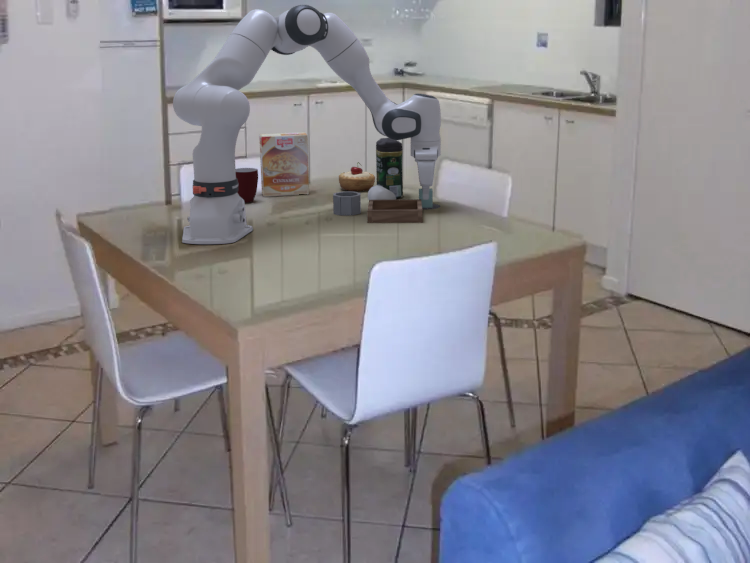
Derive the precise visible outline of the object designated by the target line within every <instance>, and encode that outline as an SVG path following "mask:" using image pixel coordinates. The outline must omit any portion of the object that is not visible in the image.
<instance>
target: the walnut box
mask: <svg viewBox="0 0 750 563" xmlns="http://www.w3.org/2000/svg"><path fill="white" fill-rule="evenodd" d="M366 213H367V215H366V218H367V222H366V223H367V224H375V223H376V224H388V223H389V224H393V223H399V224H405V223H407V224H411V223H412V224H413V223H418V224H419V223H423V210H422V202H421V199H419V198H418V199H415V198H414V199H411V198H410V199H396V200H368V204H367V210H366Z"/></svg>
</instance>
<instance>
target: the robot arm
mask: <svg viewBox="0 0 750 563" xmlns="http://www.w3.org/2000/svg"><path fill="white" fill-rule="evenodd" d="M308 47H311V48H313V49H314V50H316V51H317V52H318V54H320V55H321V57H322V58H323V60H324V61H325V62H326V64H327V65H328V67H329V68H330V69H331V70H332V71H333V72H334V73H335V74H336V75H337V76H338V78H340V80H343V81H344V82H345V83H346V84H348V85H349V86H350V87H352V89H353V90H355V91H356V93H357V95H358V96H359V97H360V98H361V99H362V101H363V103H364V104H365V105H366V107H367V108H368V109H369V111H370V115H371V117H372V122H373V126H374V128H375V130H376V131H377V132H378V133H379V134H381V135H382V136H384V137H385V138H390V139H392V140H397V141H402V140H405V139H410V156H411V157H412V158H413V159H414V162H416V165H417V172H418V180H419V186H420V187H421V189H422V190H423V199H424V200H428V199H429V189H431V188H430V187H432V186H433V184H434V178H435V176H434V175H435V170H436V169H435V168H436V162H437V160H438V158H439V157H441V152H442V151H441V148H442V147H441V141H442V140H441V133H440V130H441V129H440V128H441V126H442V119H441V118H442V113H441V103H440V101H439V99H438V98H436V97H435V96H434V95H430V94H426V93H414V94H413V95H412V96H411V97H409V98H407V99H406V100H404V101H403V102H400V103H395V102H394V101H392V100H390V99H389V98H388V96H386V94H385V92H384V91H383V90H382V89H381V87H380V85H379V84H378V83H377V81H376V80H375V79H374V76H373V75H372V73H371V69H370V57H369V55H368V54H367V51H366V49H365V48H364V45H363V44H362V43H361V41H360V40H359V38H358V36H356V34H355V33H354V32H353V30H351V28H350V27H349V26H348V25H347V24H346V23H345V21H344V20H342V18H340V17H339V16H338V15H337V14H335V13H334V12H324V13H322V12H320V11H319V10H318V9H316V8H315V7H313V6H311V5H309V4H298V5H295V6H293V7H291V8H290V9H288V10H285V11H283V12H282V13H280V14H278V15H277V16H275V15H272V14H271V13H269V12H268V11H266V10H264V9H260V8H259V9H258V8H255V9H251V10H250V11H248V13H246V14H245V15H244V16H243V18H241V19H240V21H239V22H238V24H236V25H235V27H234V28H233V30H232V32H230V34H229V36H228V37H227V39H226V40H225V42H224V44H223V45H222V47H221V48H220V49H219V52H218V53H217V54H216V56H215V57H214V59H212V61H211V62H210V63H209V64H208V65H207V66H206V67H204V68H203V70H202V71H201V72H200V73H198V75H197V76H196V77H194V78H193V79H192V80H191V81H190V82H189V83H187V84H185V85H183V86H182V87H180V88H179V89H178V90H177V91H176V92H175V94H174V96H173V100H172V107H173V111H174V113H175V115H176V116H177V117H178V118H179V119H180V120H182V121H183V122H185V123H187V124H190V125H192V126H197V127H201V133H200V138H199V141H198V144H197V145H196V146H194V148H193V150H192V165H193V178H194V179H193V180H192V195H193V197H191V199H190V200H189V203H190V205H189V206H190V207H189V208H190V209H189V216H187V222H189V225H186V226H184V227H183V232H182V239H181V240H182V241H181V242H182V243H183V244H192V245H221V244H222V245H223V244H225V245H226V244H231V243H235V242H238V241H239V240H241V239H242V238H244V237H245V236H246V235H248V234H249V233H252V232H253V230H254V227H253V225H249V224H247V213H246V203H245V202H244V200H243V199H242V198H241V197H240V196H239V194H238V193H237V192H238V179H237V178H236V170H235V169H236V145H237V140H238V136H239V133H240V131H241V128H242V127H243V126H244V124H245V123H246V122H247V120H248V119H249V116H250V113H251V106H250V101H249V99H248V97H247V95H246V94H244V93H243V92H242V91H240V90H241V89H242V88H244V87H246V86H248V85H249V84H250V83H251V82H252V81H253V79H254V78H255V76H256V75H257V73H258V72H259V70H260V69H261V66H262V65H263V63H264V61H265V60H266V58H267V57H268V55H269V53H270V52H271V51H273V52H274V53H277V54H278V55H282V56H289V55H293V54H295V53H297V52H300V51H303V50H304V49H306V48H308Z"/></svg>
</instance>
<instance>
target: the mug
mask: <svg viewBox="0 0 750 563" xmlns="http://www.w3.org/2000/svg"><path fill="white" fill-rule="evenodd" d="M235 170H236V178H237V179H238V192H237V193H238V194H239V196H240V197H241V198H242V199H243V200H244V202H245V204H249V203H252V202H254V200H255V198H256V195H257V191H258V184H259V183H258V182H259V171H258V170H259V169H258V168H255V167H240V168H239V167H238V168H235Z"/></svg>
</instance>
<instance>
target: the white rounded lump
mask: <svg viewBox="0 0 750 563" xmlns="http://www.w3.org/2000/svg"><path fill="white" fill-rule="evenodd" d="M367 200H368V201H369V200H397V198H396V196H395V194H394V193H393V192H391V191H389V190H387V189H386V188H384V187H382V186H379V185H377V184H376V185H373V187H372V188H370V190H368V191H367Z"/></svg>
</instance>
